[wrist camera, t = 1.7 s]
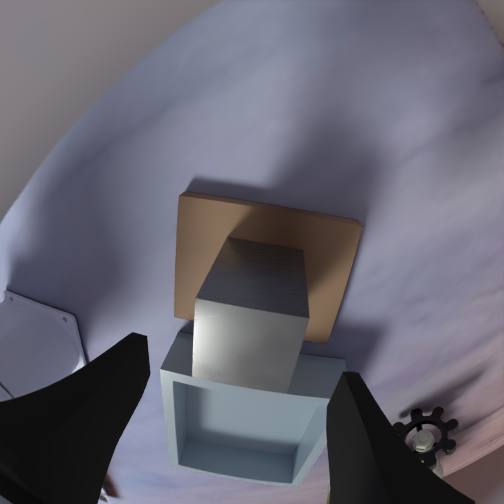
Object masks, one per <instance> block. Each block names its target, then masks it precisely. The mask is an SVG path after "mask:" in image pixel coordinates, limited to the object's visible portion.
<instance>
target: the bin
mask: <svg viewBox="0 0 504 504" xmlns="http://www.w3.org/2000/svg"><path fill="white" fill-rule="evenodd" d="M192 364H193V335H192V334H187V333H183V332H178V334H177V336H176V338H175V340H174V342H173V344H172V346H171V348H170V350H169V352H168V354H167V356H166V358H165V360H164V362H163V364H162V366H161V368H160V374H161V387H162V398H163V409H164V418H165V427H166V436H167V443H168V451H169V458H170V465H171V466H172V467H176V468H180V469H184V470H188V471H192V472H196V473H201V474H205V475H210V476H215V477H220V478H226V479H232V480H238V481H244V482H251V483H258V484H267V485H276V486H287V487H298V486H299V485H300V484H301V482H302V481H303V479H304V478H305V476H306V475H307V473H308V472H309V470H310V469H311V467H312V466H313V464H314V463H315V461H316V460H317V458H318V457H319V455H320V454H321V452H322V450H323V449H324V447H325V446H326V444H327V436H326V414H327V405H328V403H329V401H330V398H331V396H332V394H333V392H334V390H335V388H336V386H337V383H338V381H339V379H340V377H341V375H342V372H343V371H345V372H347V369H346V364H345V359H337V358H329V357H320V356H313V355H305V354H299V356H298V359H297V362H296V366H295V369H294V372H293V375H292V378H291V381H290V384H289V387H288V390H287V393H286V394H285V393H278V392H271V391H264V390H258V389H252V388H246V387H240V386H235V385H230V384H224V383H219V382H215V381H210V380H205V379H200V378H196V377H192Z"/></svg>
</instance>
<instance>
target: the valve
mask: <svg viewBox="0 0 504 504" xmlns="http://www.w3.org/2000/svg"><path fill="white" fill-rule="evenodd" d="M410 416H411V420H412V421H411V422H410V423H408V424H406V425H404V424H403V423H402V422H397V423H395V424H394V425H393V426H392V427H393V428H394V429H395V431H396V432H397V433H398V435H399V436H400V437H401V438H402V440H403V441H404V442H405V440H406V437H407V435H408V433H409V432H410V431H411V430H412V429H413V428H415V427H416V430H417V434H416V435H415V436H414V440H413V452H414V454H415V455H416V456H417V457H418V458H419V459H420V460H421V461H422V462H423V463H424V464H425V465H426V466H427V467H428V468H430V469H431V470H432V471H433V472H434V473H435V474H436V475H437V476H439V477H440V478H441V479H442V477H443V468H442V465H441V463H440V462H439V460H438V456H437V454H439V453H440V452H441V451H445V452H446V455H450V454H452V453H454V451H455V448H456V442H455V440H452V439H448V438H447V437H448V434H449V433H450V432H453V434H454V433H456V431H457V430H458V421H457V420H456V419H451V420H449V421H448V422H446V423H445V422H443V421H442V420H441V418H444V409H443V408H442V407H436V408H435V409H434V410H433V411H432V414H431V415H430V416H423V415H422V410H421V409H419V408H417V409H414V410H412V411H411V413H410ZM422 424H432V425H435V426H437V427H438V428H439V429H440V431H441V434H442V437H441V440H440V442H439V443H434V436H433V435H432V433H431V430H423V429H422Z"/></svg>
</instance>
